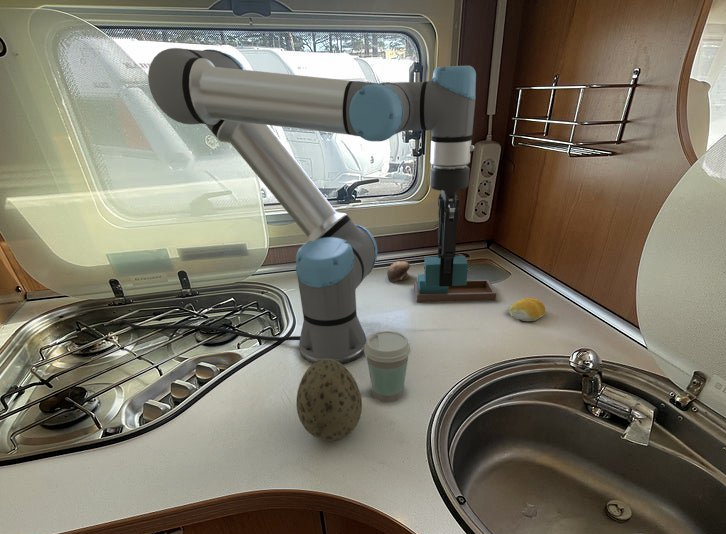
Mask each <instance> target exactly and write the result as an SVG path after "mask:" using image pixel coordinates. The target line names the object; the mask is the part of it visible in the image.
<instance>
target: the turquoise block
mask: <svg viewBox="0 0 726 534" xmlns="http://www.w3.org/2000/svg"><path fill="white" fill-rule="evenodd" d="M417 281H418V289H419V293H420V294H444V293H448V286H431V287H426V286H425V280H424V273H421V274H419V273H418V274H417Z"/></svg>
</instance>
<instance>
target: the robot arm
mask: <svg viewBox="0 0 726 534" xmlns="http://www.w3.org/2000/svg"><path fill="white" fill-rule="evenodd" d="M147 80H148V81H147V82H148V87H149V91H150V94H151V96H152V98H153V100H154V102H155V103H156V105H157V107H159V109H160V110H161V112H163V113H164V114H165V115H166V116H167V117H168V118H170V119H171V120H173V121H175V122H177V123H180V124H184V125H205V126H206V127H207V129H209V130H210V132H211V133H212V134H213V135H214V136H215V138H216V139H217V140H218V141H219V142H220V143H227V144H230V145H231V146H232V147H233V148H234V149H235V151H236V152H237V153H238V155H240V157H242V159H243V160H244V161H245V163H246V164H247V166H249V168H250V169H251V170H252V171H253V172H254V173H255V175H256V176H257V178H258V179H259V180H260V181H261V182H262V183H263V184H264V186H265V188H267V189H268V191H269V192H270V193H271V194H272V196H273V197H274V198H275V199H276V200H277V202H278V203H279V204H280V205H281V206H282V208H283V209H284V211H286V212H287V213H288V215H289V217H291V218H292V220H293V221H294V222H295V223H296V225H297V226H298V227H299V229H301V231H302V232H303V234H305V236H306V237H307V242H305V243H303V244H302V245H301V246H300V247H299V248H298V249H297V252H296V254H295V272H296V276H297V283H298V290H299V297H300V301H301V302H300V303H301V309H302V317H303V322H302V327H301V332H300V335H291V336H290V335H287V336H266V335H258V334H252V333H248V332H247V333H246V332H242V331H237V330H233V329H229V328H225V327H217V326H211V325H210V326H209V325H195V324H160V325H155V324H154V325H140V324H134V323H132V322H130V321H128V320H127V319H121V320H119V321H118V324H117V325H118V326H122V325H127V326H128V327H130V328H133V329H135V330H201V331H202V330H204V331H213V332H220V333H226V334H230V335H234V336H238V337H241V338H248V339H254V340H260V341H268V342H287V341H299V342H298V347H299V353H300V355H301V356H302V357H303V358H304V360H306V361H308V362H310V363H312V364H314V363H315V362H316V361H318V360H321V359H325V358H329V359H333V360H336V361H338V362H339V363H341V364H342V365H344V364H347V363H350V362H352V361H355V360H356V359H358V358H360V357H361V356H362V355H364V354H365V353H364V346H365V344H366V341H367V337H366V334H365V331H364V329H363V326H362V324H361V323H360V320H359V317H358V314H357V313H358V312H357V297H356V296H357V294H356V292H357V291H356V290H357V288H358V287H359V286H360V285H361V283H362V282H363V281H364V280H365V278H366V277H367V276H368V275H370V274H371V272H372V271H373V269H374V266H375V265H376V262H377V258H378V245H377V241H376V239H375V237H374V235H373V234H372V233H371V231H369V230H368V228H366V227H364V226H362V225H359V224H355V223H354V222H353V220H352V218H351V217H350V216H349V215H348V214H347V213H345V212H339V211H337V210H336V209H335V208H334V207H333V206H332V204H331V203H330V202H329V200H328V199H327V198H326V196H325V195H324V194H323V193H322V191H321V190H320V189H319V188H318V186H317V185H316V184H315V182H314V181H313V180H312V179H311V177H310V176H309V174H308V173H307V172H306V171H305V170H304V168H303V167H302V166H301V165H300V163H299V162H298V161H297V159H296V158H295V157H294V155H293V154H292V153H291V152H290V151H289V149H288V148H287V147H286V145H285V144H284V143H283V141H282V140H281V139H280V138H279V136H278V135H277V134H276V132H274V130H273V129H272V128H271V126H273V127H280V128H281V127H282V128H289V129H290V128H291V129H298V130H307V131H314V132H315V131H316V132H325V133H330V134H331V133H332V134H341V135H349V136H355V137H360V138H362V139H363V140H365V141H368V142H384V141H387V140H389V139H390V138H391V137H393V136H395V135H397V134H399V133H402V132H413V131H423V132H424V131H430V132H431V141H430V164H431V165H432V167H431V168H430V181H429V186H430V188H431V189H432V190H435V191H441V193H439V195H438V197H437V206H438V210H437V211H438V212H437V216H438V228H437V238H436V239H437V241H438V242H437V245H438V248H437V257H438V258H440V280H439V286H452V277H453V261H454V258H455V256H457V254H456V248H457V232H458V219H459V212H460V199H459V197H458V196H457V192H458V191H463V190H466V189H467V188H468V187H469V184H470V183H469V182H470V171H471V169H470V167H469V166H468V165H469V164H470V163H471V155H472V154H471V152H474V151H475V145H472V140H473V130H474V120H475V119H474V118H475V110H476V109H475V108H476V87H477V86H476V84H477V73H476V70H475V68H474V67H473V66H472V65H451V66H437V67H435V68H434V70H433V74H432V77H431V80H428V81H412V82H411V81H399V82H390V81H389V82H388V81H386V82H385V81H384V82H369V81H357V80H347V79H337V78H328V77H318V76H310V75H309V76H308V75H301V74H289V73H280V72H279V73H278V72H268V71H260V70H259V71H258V70H250V69H246V68H245V66H244V65H243V64H242V63H241V62H240V61H239V60H238V59H237V58H236V57H234V56H233V55H231V54H228V53H226V52H223V51H220V50H218V49H202V50H200V49H191V48H190V49H188V48H182V47H172V48H166V49H164V50H162V51H160V52H158V53H157V54H156V55H155V56H154V57H153V59H152V60H151V62H150V65H149V66H148V73H147Z"/></svg>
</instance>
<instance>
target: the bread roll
mask: <svg viewBox="0 0 726 534" xmlns="http://www.w3.org/2000/svg"><path fill="white" fill-rule="evenodd" d="M508 312H509V314H510V316H511V317H513V318H515V319H518V320H519V321H522V322H535V321H538V320H539V319H540V318H542V317H543V316H545V314H546V312H547V309H546V306H545V304H544V303H543V302H542V301H541V300H539V299H537V298H534V297H526V298H521V299H519V300H517V301H515V302H514V303H512V304H511V305H510V307H509V309H508Z"/></svg>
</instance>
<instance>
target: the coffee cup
mask: <svg viewBox="0 0 726 534" xmlns="http://www.w3.org/2000/svg"><path fill="white" fill-rule="evenodd" d="M410 353H411V344H410V343H409V340H408V338H407V337H406V336H405V335H404V334H403V333H401V332H398V331H393V330H381V331H376V332H374V333H372V334H370V335H369V336H368V337H367V338H366V344H365V346H364V353H363V354H364V355H365V357H366V363H367V367H368V374H369V378H370V385H371V391H372V395H373V398H374V399H375V400H377V401H379V402H382V403H395V402H397V401H399V400H401V398H402V397H403V394H404V387H405V380H406V374H407V368H408V362H409V355H410Z"/></svg>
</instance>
